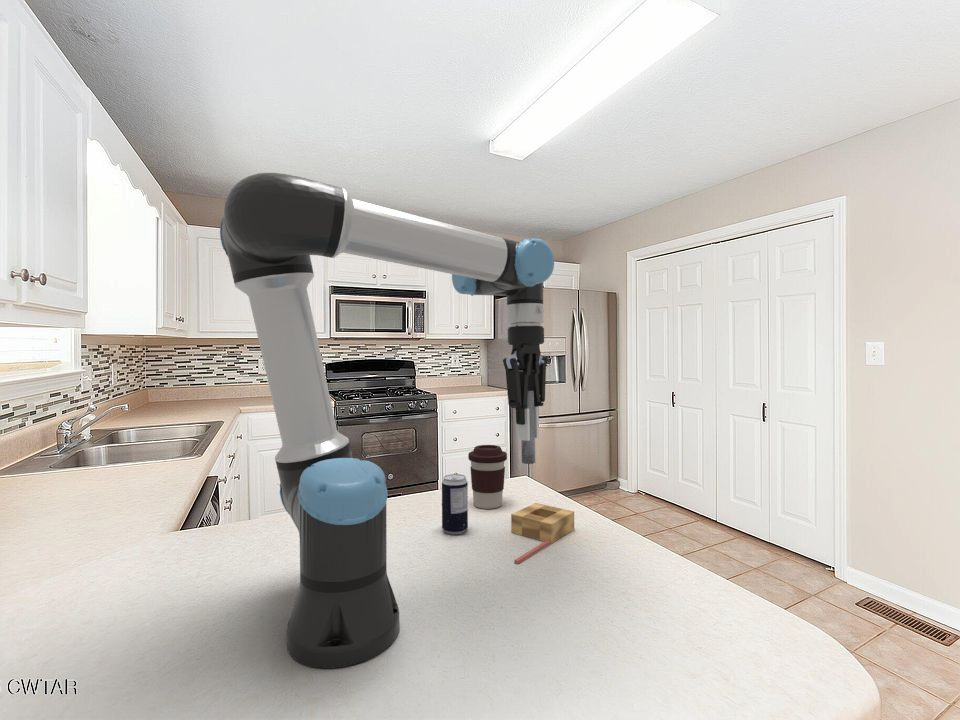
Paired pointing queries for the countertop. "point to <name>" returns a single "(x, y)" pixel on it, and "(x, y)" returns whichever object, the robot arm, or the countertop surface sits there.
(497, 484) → the coffee cup
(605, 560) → the countertop surface
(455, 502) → the beverage can
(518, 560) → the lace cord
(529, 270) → the robot arm
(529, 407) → the grey capsule rod
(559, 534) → the wooden square frame
